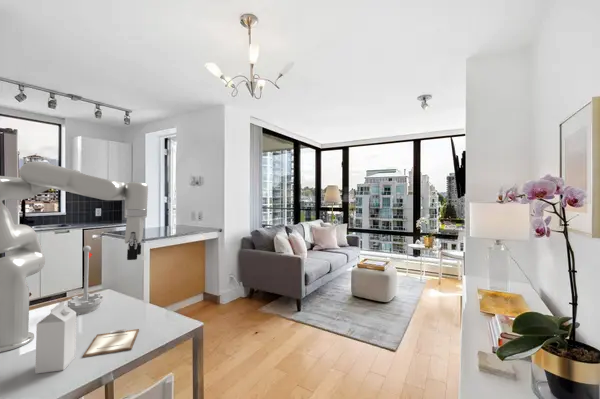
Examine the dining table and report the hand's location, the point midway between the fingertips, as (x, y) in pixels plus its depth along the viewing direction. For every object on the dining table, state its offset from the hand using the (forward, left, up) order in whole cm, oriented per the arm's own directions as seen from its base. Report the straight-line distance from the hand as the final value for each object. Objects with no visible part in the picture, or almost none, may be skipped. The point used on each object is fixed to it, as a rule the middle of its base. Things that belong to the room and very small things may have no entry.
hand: (134, 257), depth 107 cm
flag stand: (-25, +33, -30) cm, 51 cm away
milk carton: (-18, -16, -30) cm, 39 cm away
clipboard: (-5, -6, -30) cm, 31 cm away
